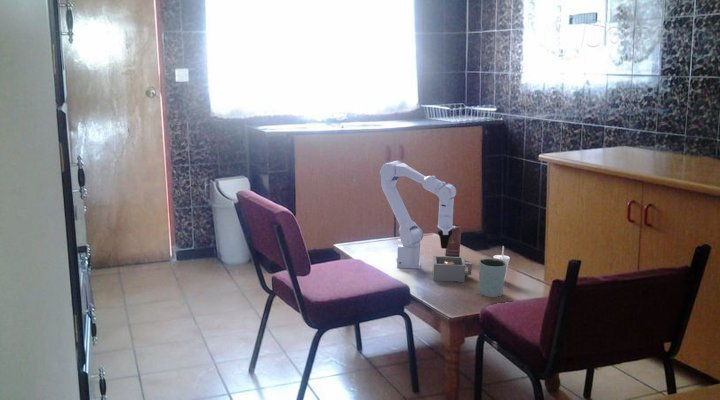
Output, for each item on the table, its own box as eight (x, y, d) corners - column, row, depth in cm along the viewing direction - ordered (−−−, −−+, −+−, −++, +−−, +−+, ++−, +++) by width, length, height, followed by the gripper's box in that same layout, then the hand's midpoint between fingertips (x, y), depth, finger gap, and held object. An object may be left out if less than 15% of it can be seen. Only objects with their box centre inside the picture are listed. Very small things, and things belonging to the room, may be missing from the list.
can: (459, 260, 311) (461, 228, 309) (444, 258, 313) (446, 227, 310) (460, 256, 317) (462, 224, 314) (445, 255, 318) (447, 223, 316)
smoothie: (498, 284, 280) (500, 249, 277) (488, 279, 286) (490, 244, 283) (511, 282, 283) (514, 247, 280) (501, 277, 289) (503, 243, 286)
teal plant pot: (485, 287, 276) (487, 256, 274) (509, 293, 270) (512, 262, 267) (471, 293, 268) (474, 262, 266) (496, 300, 262) (498, 267, 260)
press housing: (433, 280, 282) (434, 264, 281) (432, 271, 294) (433, 255, 293) (471, 282, 281) (472, 266, 280) (469, 273, 293) (470, 257, 292)
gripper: (456, 219, 282) (454, 253, 284) (455, 211, 296) (453, 243, 299) (438, 218, 282) (436, 252, 285) (437, 210, 296) (435, 243, 299)
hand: (443, 248), depth 292 cm, fingers closed
